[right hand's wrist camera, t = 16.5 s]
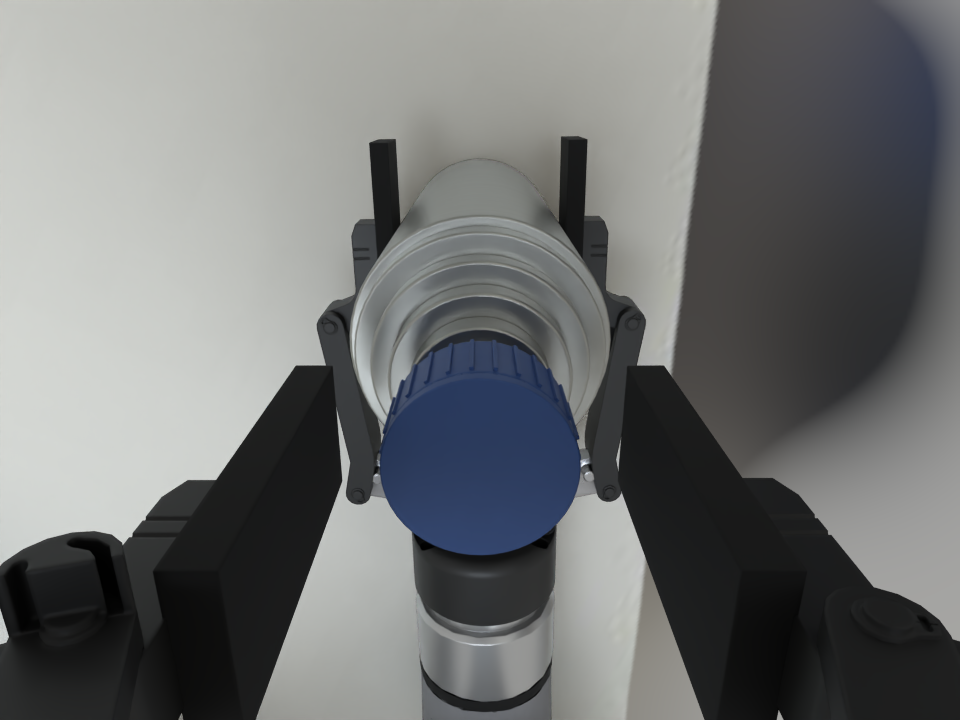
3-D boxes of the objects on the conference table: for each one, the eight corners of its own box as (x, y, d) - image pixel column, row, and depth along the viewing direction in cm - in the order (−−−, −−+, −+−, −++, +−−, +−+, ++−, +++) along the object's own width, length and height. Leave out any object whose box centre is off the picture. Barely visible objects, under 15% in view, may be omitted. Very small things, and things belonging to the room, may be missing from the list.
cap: (572, 334, 14) (587, 373, 12) (568, 497, 15) (581, 556, 13) (383, 338, 14) (367, 378, 12) (396, 501, 15) (384, 560, 13)
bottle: (529, 306, 38) (610, 637, 15) (401, 279, 38) (269, 578, 14) (562, 175, 36) (725, 319, 12) (425, 144, 35) (314, 231, 11)
